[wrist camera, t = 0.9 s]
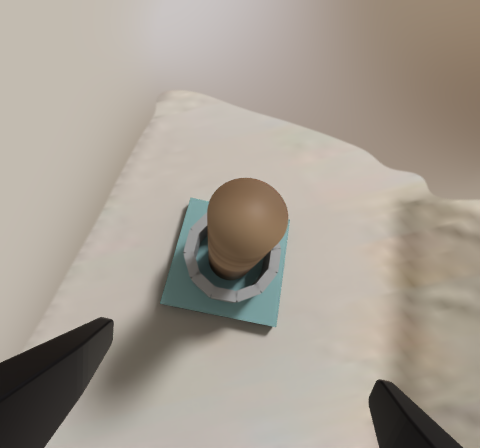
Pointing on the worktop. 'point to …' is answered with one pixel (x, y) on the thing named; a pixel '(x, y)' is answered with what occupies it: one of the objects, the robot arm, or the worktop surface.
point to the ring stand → (215, 288)
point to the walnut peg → (243, 226)
